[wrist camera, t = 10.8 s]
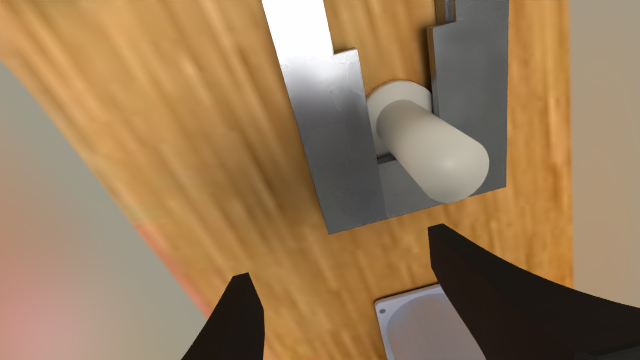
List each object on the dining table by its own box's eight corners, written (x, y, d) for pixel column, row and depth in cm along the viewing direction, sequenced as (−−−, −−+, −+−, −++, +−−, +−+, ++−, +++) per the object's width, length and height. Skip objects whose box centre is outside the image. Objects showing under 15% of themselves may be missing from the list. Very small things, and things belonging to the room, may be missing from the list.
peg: (435, 147, 23) (508, 207, 15) (362, 164, 23) (402, 232, 15) (431, 71, 20) (515, 100, 13) (350, 89, 20) (391, 129, 13)
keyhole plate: (488, 173, 24) (506, 187, 22) (324, 217, 24) (328, 234, 22) (483, -221, 15) (512, -255, 13) (220, -148, 15) (212, -171, 13)
